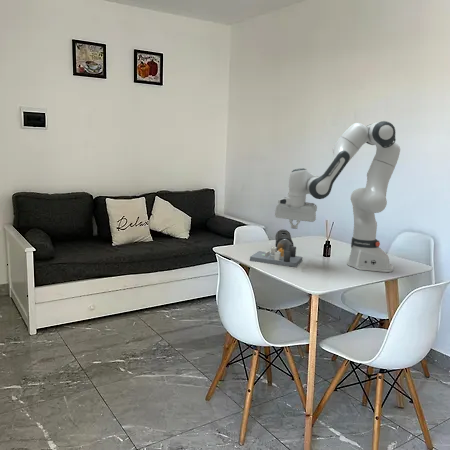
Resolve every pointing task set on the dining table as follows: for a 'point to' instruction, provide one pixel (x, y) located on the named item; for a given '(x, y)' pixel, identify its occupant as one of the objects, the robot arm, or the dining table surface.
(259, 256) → the panel
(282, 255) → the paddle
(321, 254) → the dining table surface
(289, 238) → the muzzle brake
